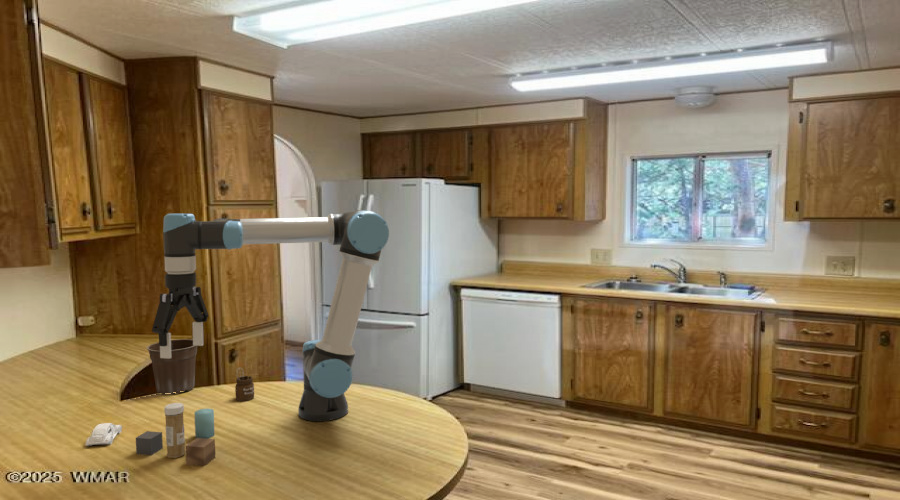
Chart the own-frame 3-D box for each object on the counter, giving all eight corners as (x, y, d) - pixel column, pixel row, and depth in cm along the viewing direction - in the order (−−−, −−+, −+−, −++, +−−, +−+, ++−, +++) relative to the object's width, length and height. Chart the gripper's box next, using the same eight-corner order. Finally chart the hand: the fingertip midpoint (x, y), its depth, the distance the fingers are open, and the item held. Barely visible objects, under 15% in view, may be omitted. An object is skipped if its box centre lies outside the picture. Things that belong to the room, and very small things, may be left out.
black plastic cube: (162, 448, 162) (162, 432, 161) (151, 455, 157) (150, 439, 157) (147, 447, 162) (147, 431, 162) (136, 454, 158) (135, 437, 158)
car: (109, 447, 163) (108, 431, 162) (84, 449, 162) (83, 432, 161) (125, 430, 174) (124, 415, 174) (101, 432, 173) (100, 416, 173)
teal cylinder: (218, 432, 172) (217, 409, 171) (207, 439, 167) (207, 415, 166) (202, 431, 173) (201, 408, 172) (191, 438, 168) (190, 414, 167)
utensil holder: (231, 400, 199) (230, 364, 198) (244, 394, 205) (243, 360, 204) (245, 402, 197) (244, 366, 196) (258, 396, 203) (257, 361, 202)
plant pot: (147, 399, 200) (145, 352, 198) (150, 385, 215) (148, 341, 213) (200, 393, 206) (198, 347, 205) (199, 380, 221) (198, 337, 220)
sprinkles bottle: (187, 456, 157) (185, 405, 155) (167, 460, 154) (165, 409, 153) (183, 449, 160) (181, 400, 159) (165, 453, 158) (162, 404, 157)
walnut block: (215, 458, 156) (214, 439, 155) (204, 466, 151) (203, 447, 150) (198, 456, 157) (197, 437, 156) (186, 464, 152) (185, 445, 151)
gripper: (196, 266, 171) (198, 339, 173) (134, 277, 147) (137, 362, 149) (220, 267, 170) (222, 341, 171) (161, 278, 145) (164, 364, 147)
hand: (182, 351), depth 160 cm, fingers open, 13 cm apart
